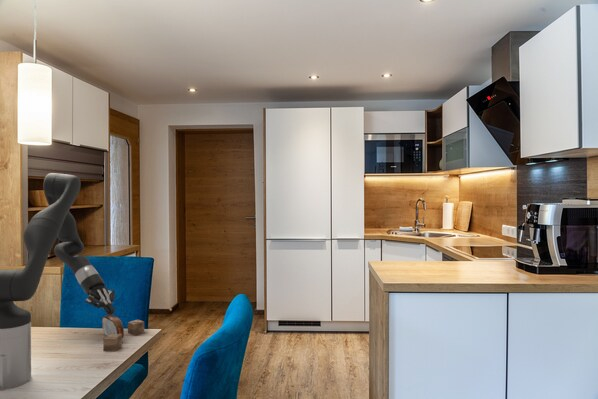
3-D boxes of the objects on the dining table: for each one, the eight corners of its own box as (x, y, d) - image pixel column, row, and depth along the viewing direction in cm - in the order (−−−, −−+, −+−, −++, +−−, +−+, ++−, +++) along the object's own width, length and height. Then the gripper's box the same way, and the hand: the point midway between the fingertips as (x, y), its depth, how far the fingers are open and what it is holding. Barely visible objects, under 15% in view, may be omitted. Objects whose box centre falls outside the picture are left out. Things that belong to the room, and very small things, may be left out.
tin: (124, 342, 152) (124, 319, 151) (116, 344, 149) (116, 321, 149) (108, 332, 162) (108, 311, 162) (100, 334, 160) (100, 313, 160)
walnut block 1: (115, 351, 143) (115, 338, 142) (103, 351, 143) (103, 338, 143) (121, 346, 147) (121, 333, 147) (110, 346, 147) (110, 333, 147)
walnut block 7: (133, 335, 158) (133, 324, 158) (127, 333, 161) (127, 321, 161) (144, 332, 162) (144, 321, 162) (138, 330, 165) (138, 319, 165)
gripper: (79, 276, 153) (103, 311, 148) (108, 270, 165) (130, 303, 161) (69, 288, 155) (92, 324, 150) (98, 282, 167) (120, 314, 163)
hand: (112, 313), depth 156 cm, fingers closed
